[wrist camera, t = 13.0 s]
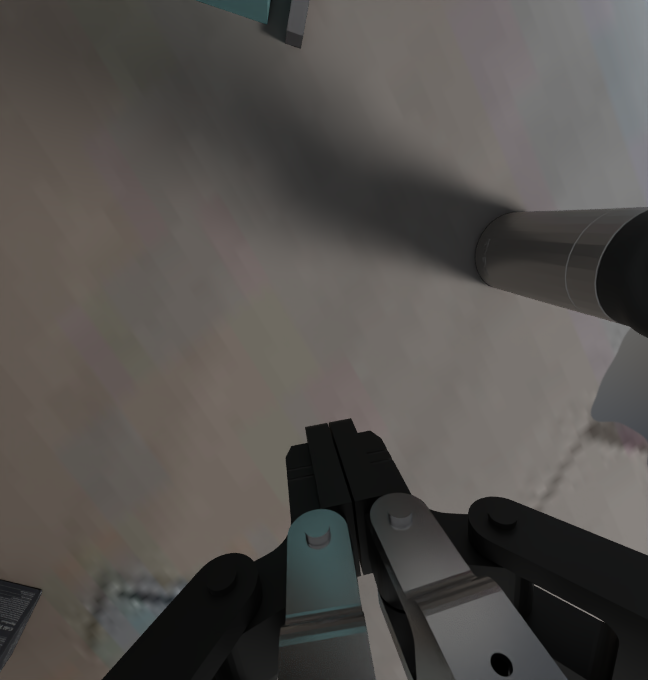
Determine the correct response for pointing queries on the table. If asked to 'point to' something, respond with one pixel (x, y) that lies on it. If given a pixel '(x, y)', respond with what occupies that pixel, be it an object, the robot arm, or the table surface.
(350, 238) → the table surface
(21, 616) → the small box
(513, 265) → the robot arm
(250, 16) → the t block
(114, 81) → the table surface
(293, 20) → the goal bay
